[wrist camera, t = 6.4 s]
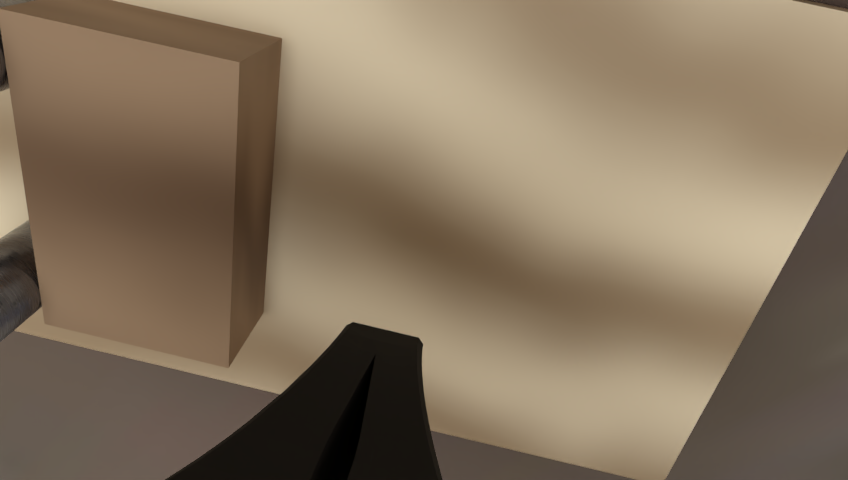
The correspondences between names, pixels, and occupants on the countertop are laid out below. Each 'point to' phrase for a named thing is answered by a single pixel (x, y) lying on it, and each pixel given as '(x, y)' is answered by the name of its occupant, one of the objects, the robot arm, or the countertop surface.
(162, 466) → the countertop surface
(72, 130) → the tan cardboard box
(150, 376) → the countertop surface
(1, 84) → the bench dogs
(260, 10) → the bench board
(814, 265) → the countertop surface
